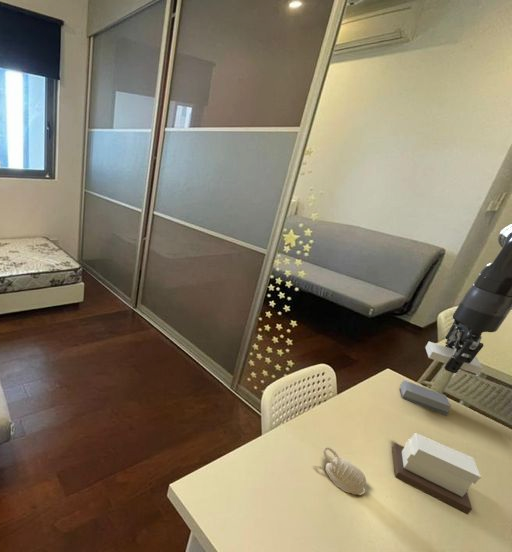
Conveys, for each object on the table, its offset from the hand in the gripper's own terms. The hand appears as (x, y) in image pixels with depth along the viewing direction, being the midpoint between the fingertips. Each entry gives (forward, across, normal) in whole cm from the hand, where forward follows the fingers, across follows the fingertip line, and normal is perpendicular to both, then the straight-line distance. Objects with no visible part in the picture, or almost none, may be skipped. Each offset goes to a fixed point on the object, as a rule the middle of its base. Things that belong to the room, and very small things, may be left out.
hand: (447, 364), depth 81 cm
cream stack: (+14, -28, +2) cm, 31 cm away
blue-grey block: (+14, 0, 0) cm, 14 cm away
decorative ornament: (+13, -41, +17) cm, 47 cm away
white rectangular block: (-1, 0, 0) cm, 1 cm away
